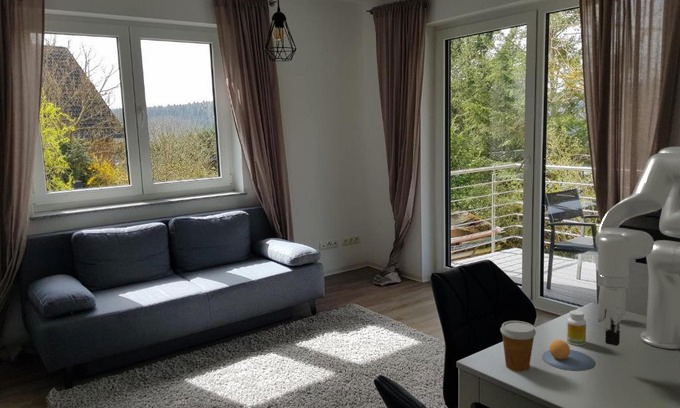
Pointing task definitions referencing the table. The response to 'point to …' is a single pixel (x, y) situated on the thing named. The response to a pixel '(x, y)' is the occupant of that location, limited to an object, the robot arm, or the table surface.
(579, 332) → the supplement bottle
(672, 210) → the robot arm
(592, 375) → the table surface
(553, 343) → the ball
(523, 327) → the disposable coffee cup
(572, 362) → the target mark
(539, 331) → the table surface
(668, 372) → the table surface
